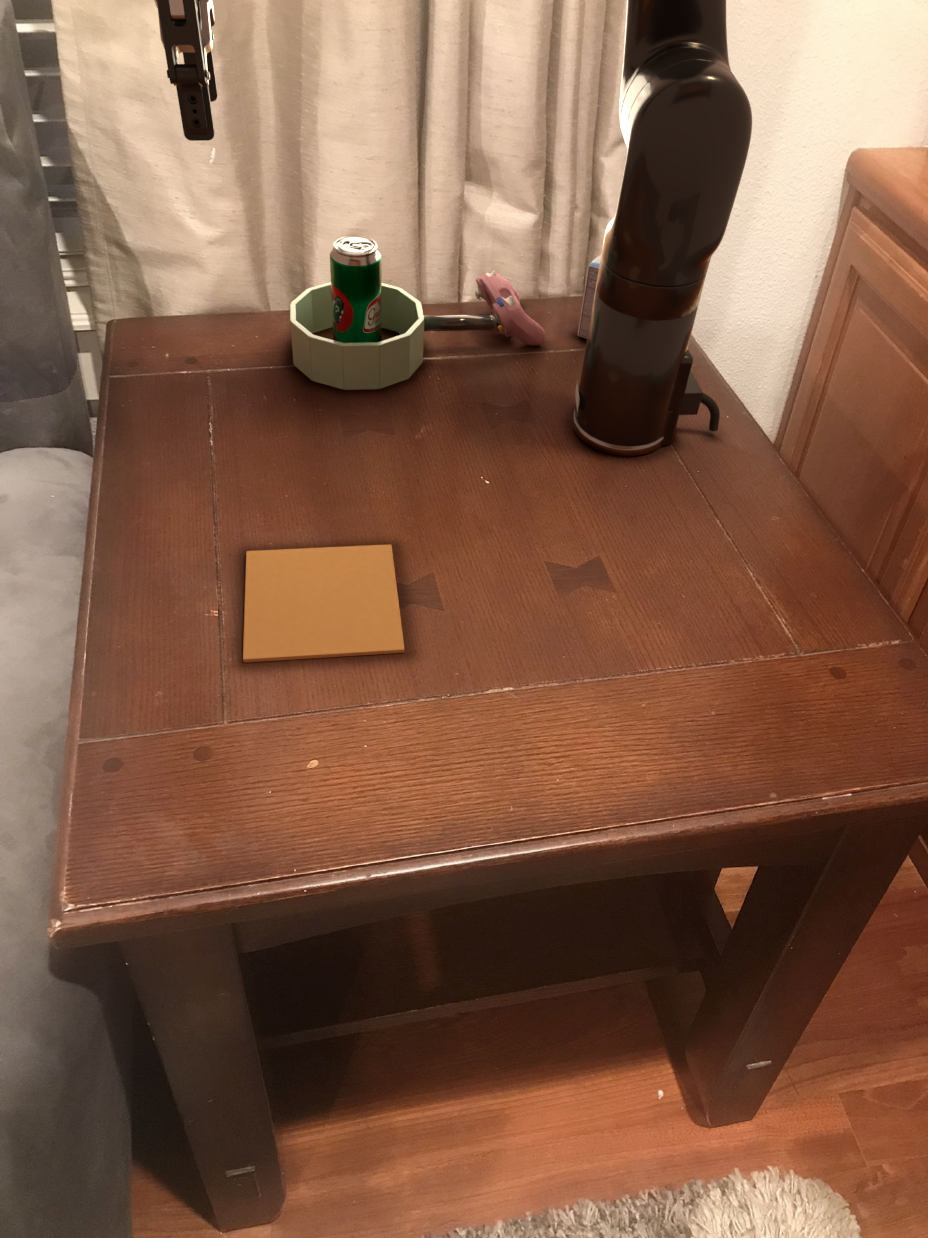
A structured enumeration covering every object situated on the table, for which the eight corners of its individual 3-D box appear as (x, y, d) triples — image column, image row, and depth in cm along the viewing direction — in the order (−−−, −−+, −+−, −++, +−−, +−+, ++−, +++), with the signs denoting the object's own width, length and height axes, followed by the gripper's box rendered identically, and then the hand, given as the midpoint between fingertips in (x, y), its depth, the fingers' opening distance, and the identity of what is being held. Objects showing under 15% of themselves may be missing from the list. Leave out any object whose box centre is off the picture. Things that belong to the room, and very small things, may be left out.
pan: (485, 320, 108) (488, 278, 105) (504, 386, 99) (509, 342, 95) (292, 322, 105) (289, 280, 102) (294, 391, 96) (290, 346, 92)
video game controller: (485, 319, 111) (463, 270, 106) (519, 299, 111) (499, 249, 106) (513, 363, 105) (491, 313, 100) (550, 342, 104) (529, 292, 99)
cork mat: (391, 547, 80) (391, 544, 80) (404, 652, 72) (404, 649, 72) (246, 554, 79) (246, 550, 79) (243, 662, 71) (242, 659, 70)
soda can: (374, 370, 99) (373, 259, 91) (327, 362, 100) (322, 251, 91) (386, 346, 103) (387, 237, 94) (341, 338, 103) (337, 229, 95)
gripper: (219, -126, 58) (251, 152, 70) (224, -162, 68) (251, 87, 80) (91, -128, 57) (145, 154, 69) (115, -165, 67) (159, 88, 79)
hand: (202, 118), depth 74 cm, fingers open, 8 cm apart
